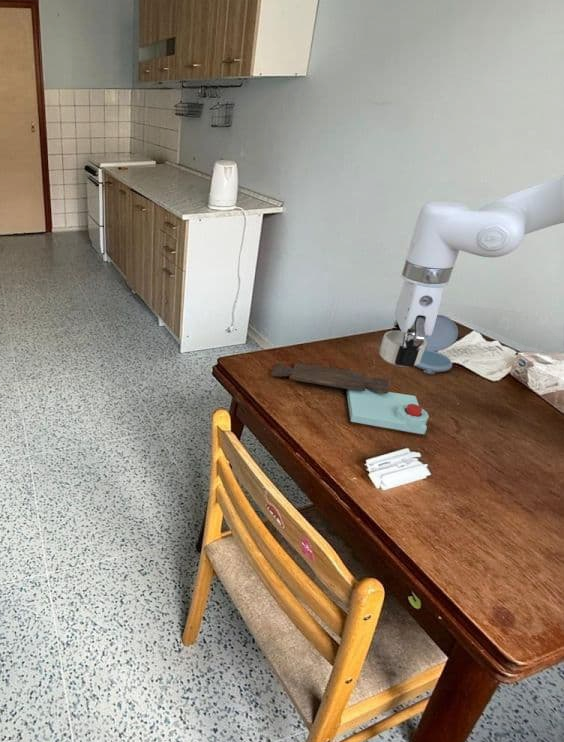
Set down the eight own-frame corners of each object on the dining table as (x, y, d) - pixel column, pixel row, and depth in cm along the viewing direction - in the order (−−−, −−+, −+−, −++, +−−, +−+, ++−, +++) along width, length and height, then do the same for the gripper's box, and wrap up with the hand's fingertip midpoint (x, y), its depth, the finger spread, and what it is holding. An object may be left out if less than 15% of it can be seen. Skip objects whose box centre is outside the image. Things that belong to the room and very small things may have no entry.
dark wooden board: (276, 365, 124) (269, 379, 116) (277, 359, 124) (269, 372, 115) (388, 380, 113) (389, 397, 104) (389, 374, 112) (390, 390, 104)
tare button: (418, 411, 100) (420, 405, 99) (420, 418, 97) (423, 412, 97) (404, 408, 100) (406, 402, 100) (406, 415, 98) (408, 409, 97)
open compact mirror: (463, 318, 121) (466, 342, 110) (450, 355, 126) (451, 381, 115) (418, 310, 126) (417, 332, 114) (407, 346, 131) (404, 371, 119)
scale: (414, 403, 107) (418, 390, 106) (426, 435, 97) (431, 422, 96) (346, 392, 112) (349, 379, 110) (350, 422, 102) (354, 409, 100)
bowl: (415, 353, 97) (422, 333, 95) (423, 370, 91) (430, 349, 89) (376, 347, 99) (381, 328, 97) (381, 364, 93) (387, 344, 91)
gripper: (464, 291, 78) (431, 380, 87) (438, 259, 93) (412, 338, 101) (412, 286, 80) (386, 374, 89) (395, 256, 95) (373, 334, 103)
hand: (400, 354), depth 95 cm, fingers closed on bowl, 7 cm apart
